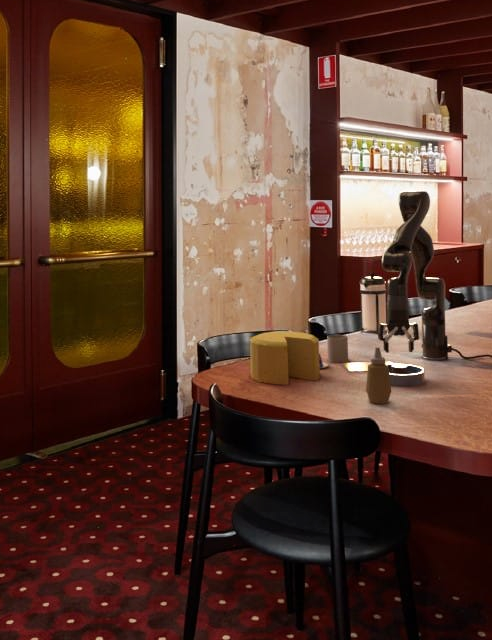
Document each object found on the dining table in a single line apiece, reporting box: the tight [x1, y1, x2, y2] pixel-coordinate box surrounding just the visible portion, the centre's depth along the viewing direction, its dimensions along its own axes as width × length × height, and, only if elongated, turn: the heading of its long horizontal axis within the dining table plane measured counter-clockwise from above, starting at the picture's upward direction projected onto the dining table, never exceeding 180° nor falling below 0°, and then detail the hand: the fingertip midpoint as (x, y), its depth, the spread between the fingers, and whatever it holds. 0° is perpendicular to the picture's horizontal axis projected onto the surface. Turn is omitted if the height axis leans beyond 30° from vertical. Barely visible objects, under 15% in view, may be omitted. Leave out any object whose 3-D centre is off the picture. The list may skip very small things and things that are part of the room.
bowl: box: [386, 363, 426, 387], centre depth 262 cm, size 17×17×5 cm
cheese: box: [249, 330, 320, 385], centre depth 275 cm, size 26×26×15 cm
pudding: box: [319, 353, 329, 370], centre depth 289 cm, size 12×12×5 cm
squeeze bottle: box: [365, 346, 392, 405], centre depth 237 cm, size 8×8×18 cm
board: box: [342, 361, 395, 373], centre depth 283 cm, size 20×14×1 cm
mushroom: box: [392, 363, 407, 375], centre depth 262 cm, size 5×5×5 cm
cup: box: [326, 334, 349, 364], centre depth 299 cm, size 8×8×10 cm
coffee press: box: [358, 271, 389, 335], centre depth 364 cm, size 17×16×30 cm
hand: (398, 351), depth 262 cm, fingers open, 8 cm apart
